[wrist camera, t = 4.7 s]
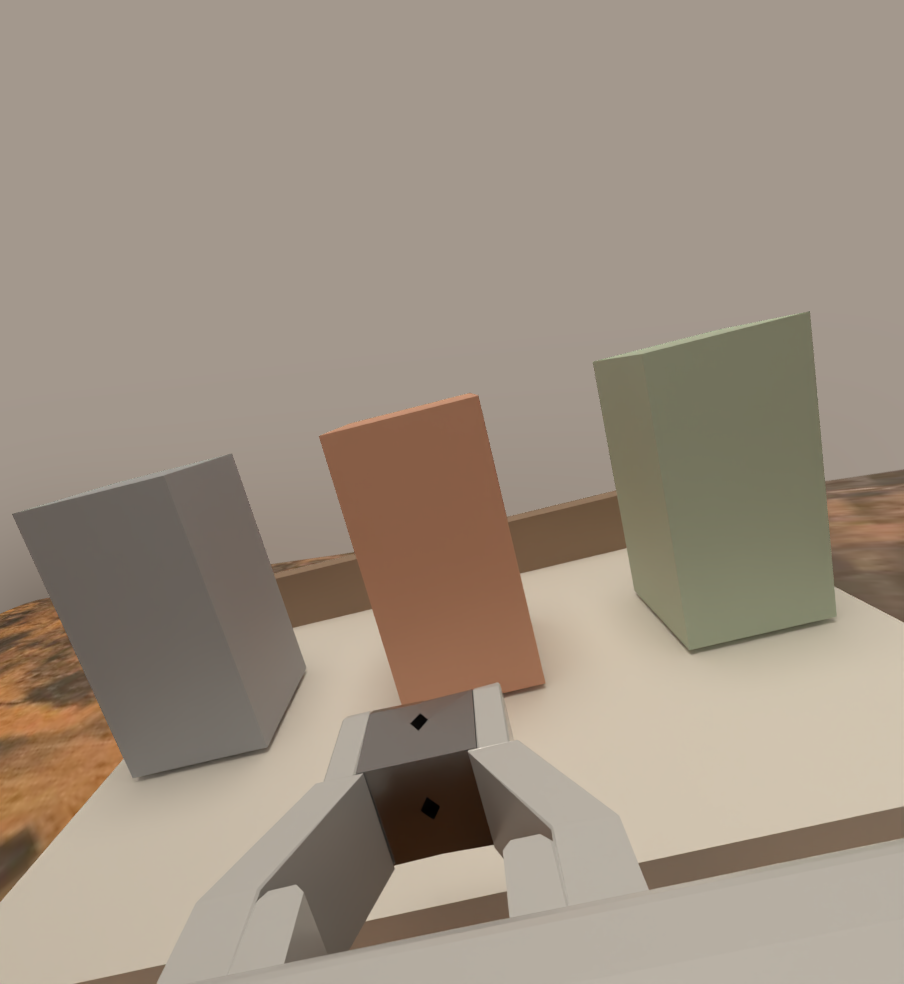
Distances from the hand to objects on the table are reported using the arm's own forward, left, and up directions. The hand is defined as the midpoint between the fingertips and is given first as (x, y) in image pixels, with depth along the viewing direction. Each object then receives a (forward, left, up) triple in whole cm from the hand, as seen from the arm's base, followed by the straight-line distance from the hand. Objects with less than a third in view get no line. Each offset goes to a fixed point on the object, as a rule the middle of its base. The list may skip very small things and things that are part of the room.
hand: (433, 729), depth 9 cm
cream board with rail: (0, +10, -6) cm, 12 cm away
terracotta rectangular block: (0, +10, -4) cm, 11 cm away
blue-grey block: (-10, +10, -4) cm, 14 cm away
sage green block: (+10, +10, -4) cm, 15 cm away
